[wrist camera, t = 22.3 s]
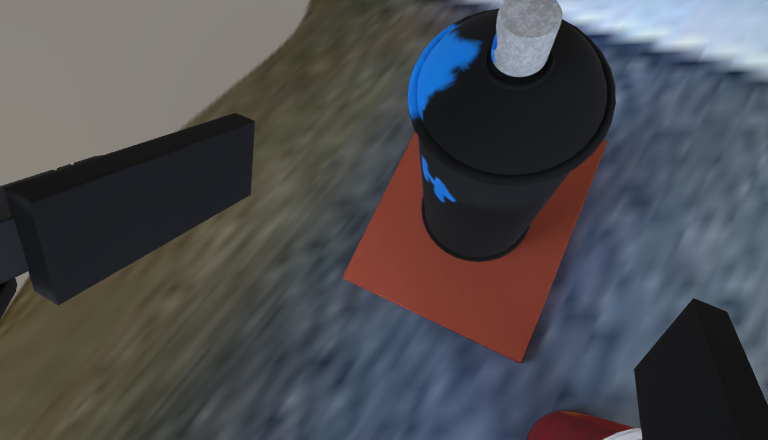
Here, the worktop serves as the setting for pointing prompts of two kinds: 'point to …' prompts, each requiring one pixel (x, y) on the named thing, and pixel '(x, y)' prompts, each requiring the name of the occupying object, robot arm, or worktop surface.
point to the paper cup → (580, 428)
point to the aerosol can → (504, 122)
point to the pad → (467, 262)
